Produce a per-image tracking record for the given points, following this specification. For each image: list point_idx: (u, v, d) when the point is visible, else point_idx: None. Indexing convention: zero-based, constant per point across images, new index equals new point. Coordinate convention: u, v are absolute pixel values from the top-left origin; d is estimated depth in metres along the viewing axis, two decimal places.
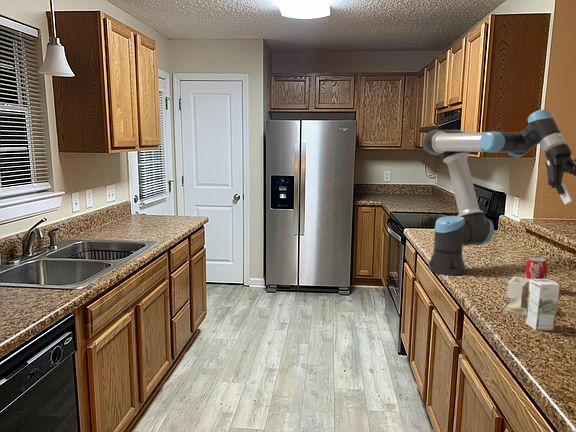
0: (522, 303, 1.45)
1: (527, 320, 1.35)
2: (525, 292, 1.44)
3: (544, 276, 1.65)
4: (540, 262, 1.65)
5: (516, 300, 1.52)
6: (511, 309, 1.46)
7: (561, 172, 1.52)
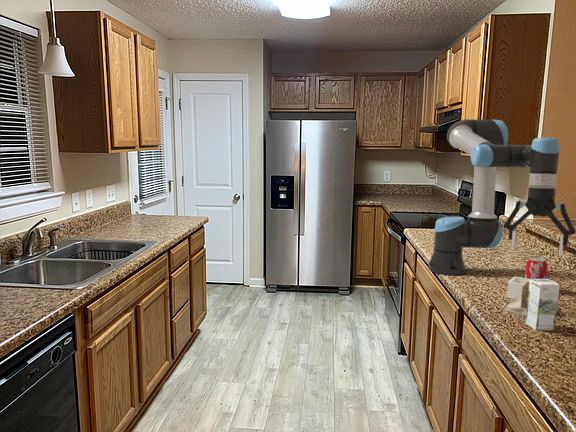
0: (522, 303, 1.45)
1: (527, 320, 1.35)
2: (525, 292, 1.44)
3: (544, 276, 1.65)
4: (540, 262, 1.65)
5: (516, 300, 1.52)
6: (511, 309, 1.46)
7: (521, 218, 1.46)
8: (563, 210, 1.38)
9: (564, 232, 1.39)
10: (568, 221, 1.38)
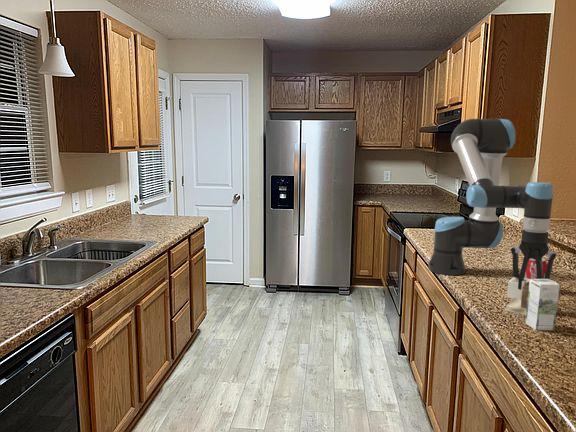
0: (522, 303, 1.45)
1: (527, 320, 1.35)
2: (525, 292, 1.44)
3: (544, 276, 1.65)
4: None
5: (516, 300, 1.52)
6: (511, 309, 1.46)
7: (523, 265, 1.46)
8: (551, 259, 1.41)
9: None
10: (549, 270, 1.41)
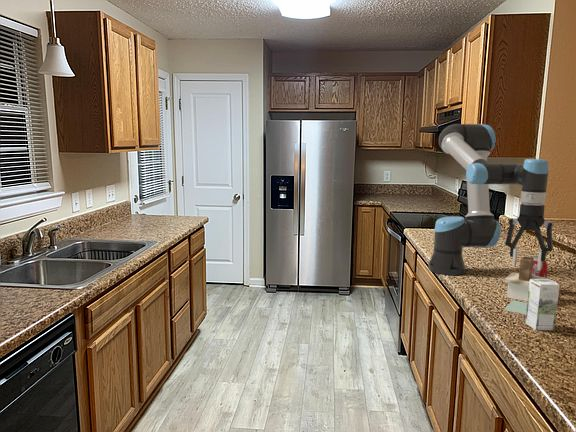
0: (520, 275, 1.57)
1: (527, 320, 1.35)
2: (523, 265, 1.56)
3: (544, 276, 1.65)
4: None
5: (514, 274, 1.64)
6: (510, 281, 1.57)
7: (518, 235, 1.58)
8: (549, 228, 1.52)
9: (542, 249, 1.53)
10: (549, 239, 1.52)
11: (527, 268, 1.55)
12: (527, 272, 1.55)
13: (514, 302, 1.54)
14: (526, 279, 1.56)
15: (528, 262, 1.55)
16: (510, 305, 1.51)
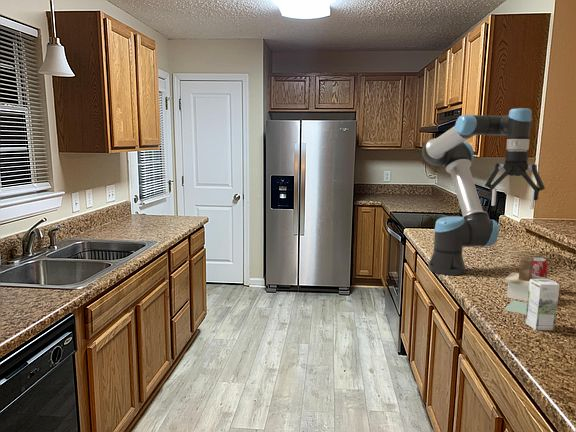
0: (520, 275, 1.57)
1: (527, 320, 1.35)
2: (523, 265, 1.56)
3: (544, 276, 1.65)
4: (540, 262, 1.65)
5: (514, 274, 1.64)
6: (510, 281, 1.57)
7: (500, 178, 1.71)
8: (534, 170, 1.63)
9: (535, 188, 1.64)
10: (538, 179, 1.63)
11: (527, 268, 1.55)
12: (527, 272, 1.55)
13: (514, 302, 1.54)
14: (526, 279, 1.56)
15: (528, 262, 1.55)
16: (510, 305, 1.51)
